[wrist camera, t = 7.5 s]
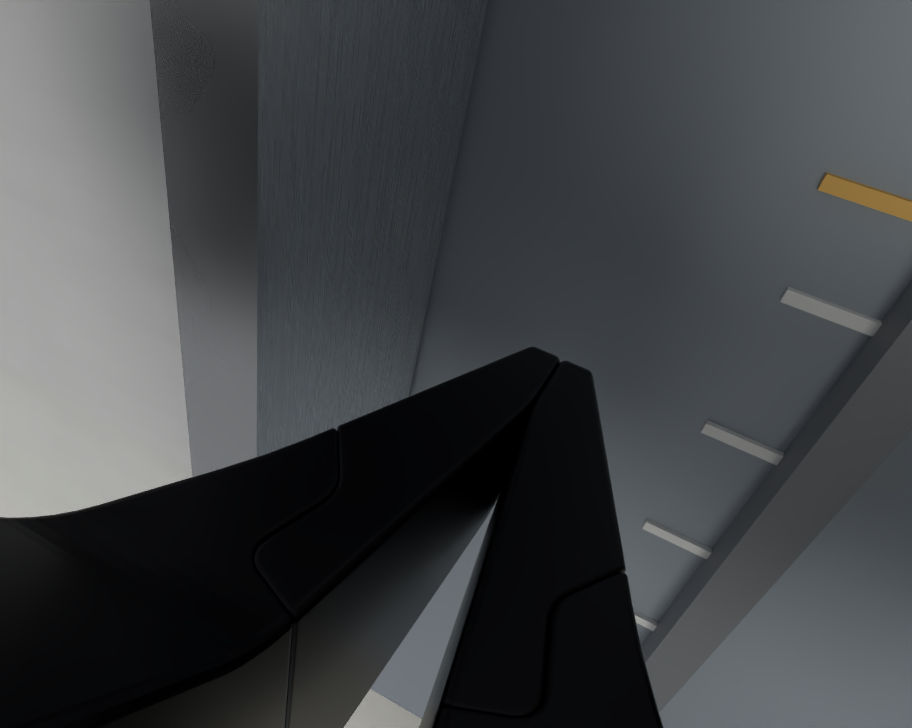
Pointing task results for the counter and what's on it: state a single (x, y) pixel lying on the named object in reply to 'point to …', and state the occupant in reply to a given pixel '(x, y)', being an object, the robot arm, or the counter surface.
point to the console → (706, 329)
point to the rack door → (305, 203)
